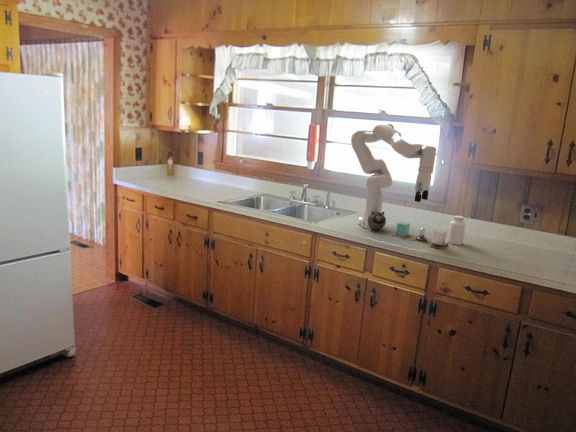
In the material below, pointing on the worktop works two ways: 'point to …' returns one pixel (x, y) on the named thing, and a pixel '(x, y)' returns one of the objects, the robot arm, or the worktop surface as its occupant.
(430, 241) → the board
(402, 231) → the matte teal square block
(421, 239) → the dark grey knobbed dome
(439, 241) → the pale wooden cube
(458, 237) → the pill bottle
